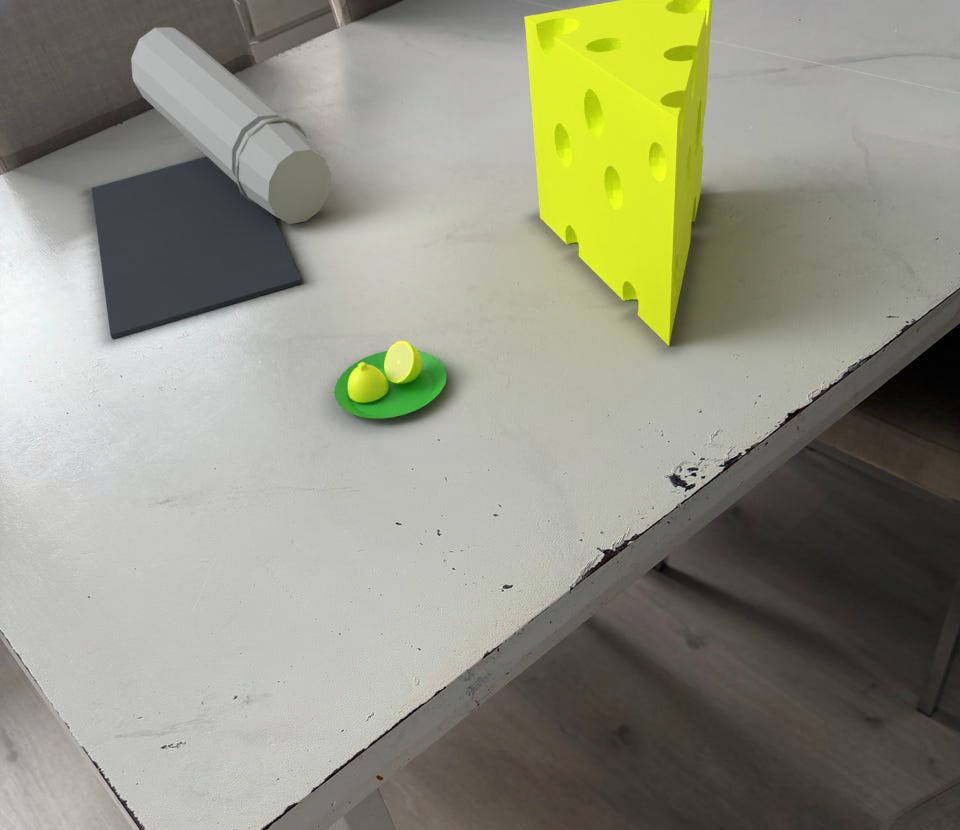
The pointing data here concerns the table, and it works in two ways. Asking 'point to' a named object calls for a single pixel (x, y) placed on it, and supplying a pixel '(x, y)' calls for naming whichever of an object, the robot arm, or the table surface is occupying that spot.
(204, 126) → the water bottle
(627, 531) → the table surface
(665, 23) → the cheese wedge
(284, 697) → the table surface
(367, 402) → the lemon
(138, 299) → the slate mat
